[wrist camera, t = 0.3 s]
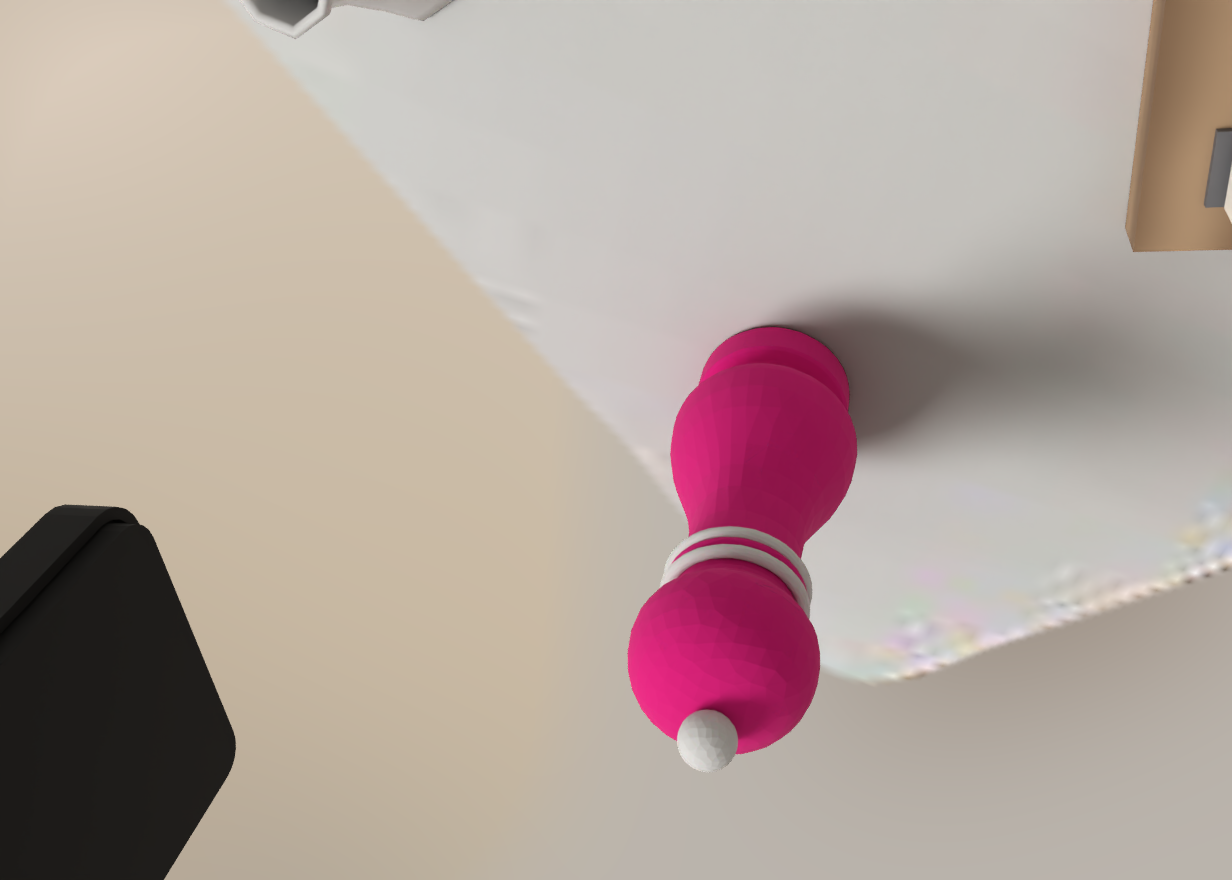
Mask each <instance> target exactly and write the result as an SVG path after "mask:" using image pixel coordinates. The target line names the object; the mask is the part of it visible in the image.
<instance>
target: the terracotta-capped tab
mask: <svg viewBox="0 0 1232 880" xmlns="http://www.w3.org/2000/svg"><path fill="white" fill-rule="evenodd" d="M1224 209H1225V211H1226V213H1227V215H1228V217H1229V219H1230V221H1231V223H1232V165H1231V171H1230V177H1229V183H1228V189H1227V194H1226V200H1225V206H1224Z"/></svg>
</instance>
